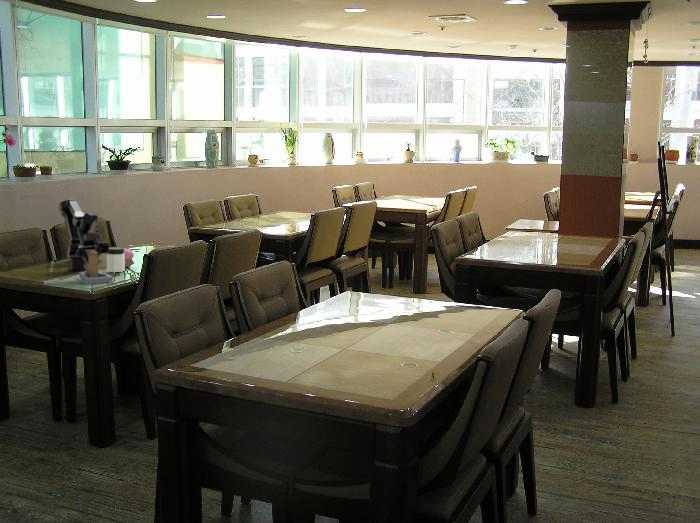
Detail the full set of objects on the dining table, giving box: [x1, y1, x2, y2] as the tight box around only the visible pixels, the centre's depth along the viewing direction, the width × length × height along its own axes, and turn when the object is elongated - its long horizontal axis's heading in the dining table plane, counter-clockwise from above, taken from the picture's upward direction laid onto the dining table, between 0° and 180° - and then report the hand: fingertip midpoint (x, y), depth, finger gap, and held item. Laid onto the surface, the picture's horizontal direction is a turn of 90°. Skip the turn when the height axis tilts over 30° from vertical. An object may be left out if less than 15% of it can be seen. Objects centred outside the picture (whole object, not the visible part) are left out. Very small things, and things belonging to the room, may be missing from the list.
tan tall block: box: [85, 251, 99, 278], centre depth 377 cm, size 6×4×12 cm, turn 34°
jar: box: [106, 246, 126, 274], centre depth 398 cm, size 9×8×12 cm
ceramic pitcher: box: [64, 213, 104, 262], centre depth 428 cm, size 18×21×25 cm
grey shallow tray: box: [75, 270, 115, 285], centre depth 375 cm, size 18×13×2 cm
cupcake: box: [124, 248, 135, 268], centre depth 410 cm, size 9×9×10 cm
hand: (92, 262), depth 376 cm, fingers closed on tan tall block, 4 cm apart
